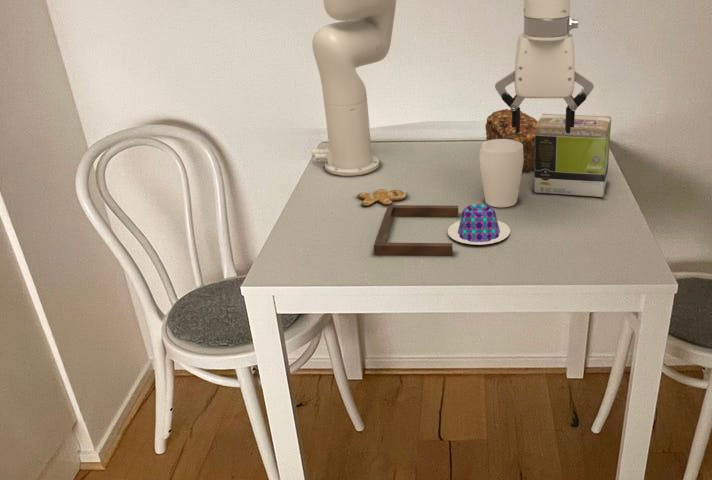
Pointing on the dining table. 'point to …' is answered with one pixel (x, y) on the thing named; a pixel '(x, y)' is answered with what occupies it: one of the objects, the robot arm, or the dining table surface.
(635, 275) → the dining table surface
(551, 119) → the tea box
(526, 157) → the bread
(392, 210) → the frame
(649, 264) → the dining table surface
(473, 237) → the pudding
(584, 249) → the dining table surface
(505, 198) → the cup
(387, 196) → the cookie
